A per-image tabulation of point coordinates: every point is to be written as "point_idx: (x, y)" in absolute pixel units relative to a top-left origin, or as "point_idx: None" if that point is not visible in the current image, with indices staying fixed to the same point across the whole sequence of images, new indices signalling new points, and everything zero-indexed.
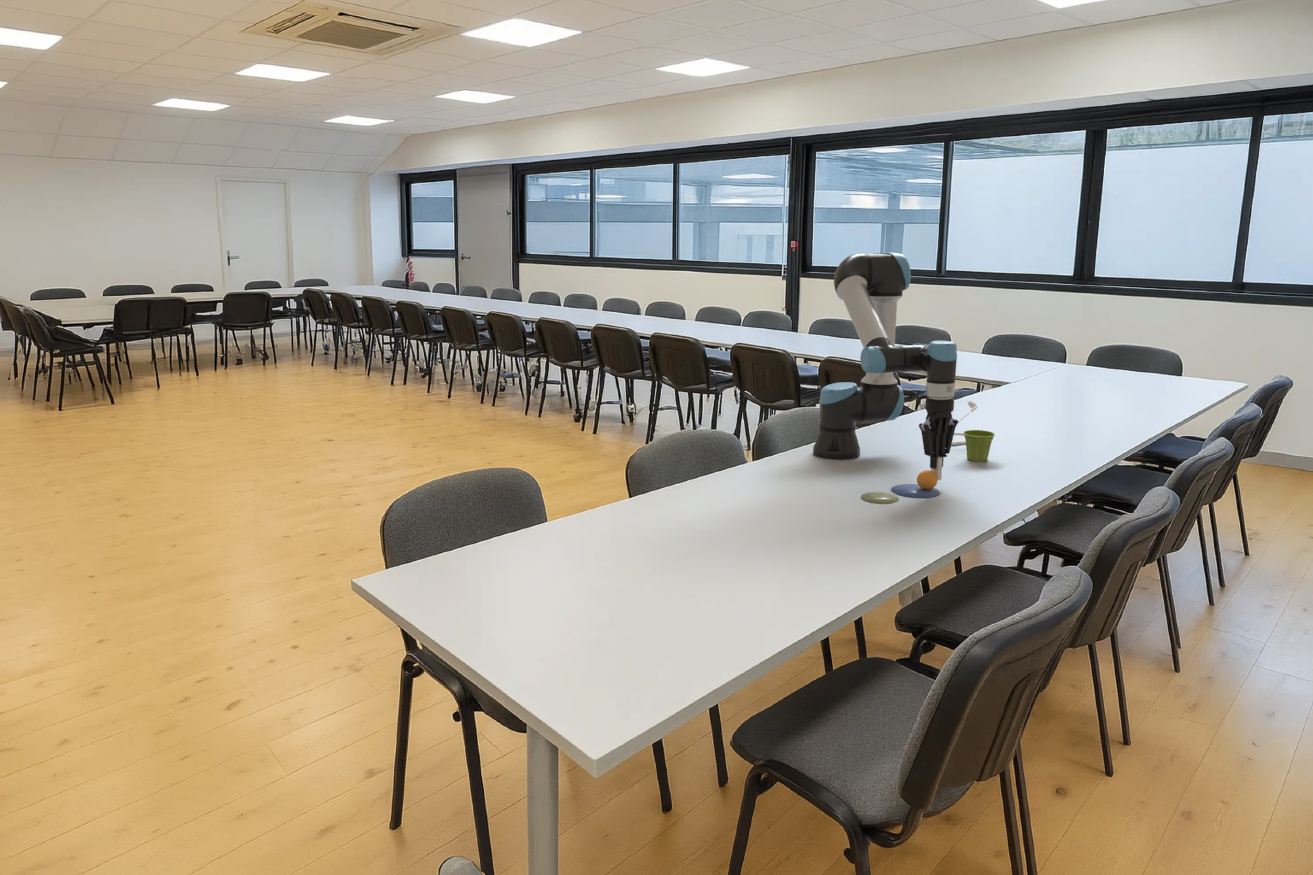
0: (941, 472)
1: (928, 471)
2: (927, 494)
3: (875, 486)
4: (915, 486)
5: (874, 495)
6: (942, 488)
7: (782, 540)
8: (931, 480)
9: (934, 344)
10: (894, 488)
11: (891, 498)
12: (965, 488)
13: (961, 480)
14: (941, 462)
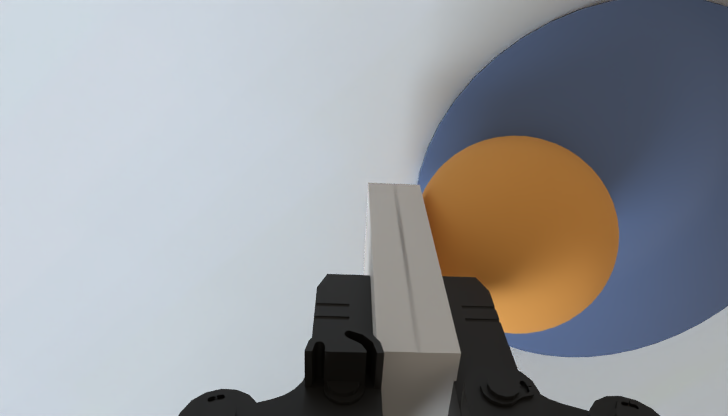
0: (374, 220)
1: (556, 270)
2: (649, 68)
3: (698, 407)
4: None
5: None
6: (355, 137)
7: None
8: (572, 161)
9: None
10: (676, 316)
11: None
12: (163, 17)
13: (24, 210)
14: (387, 298)
